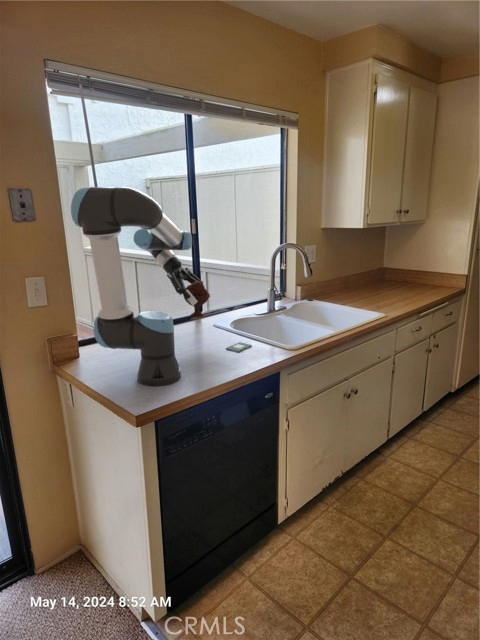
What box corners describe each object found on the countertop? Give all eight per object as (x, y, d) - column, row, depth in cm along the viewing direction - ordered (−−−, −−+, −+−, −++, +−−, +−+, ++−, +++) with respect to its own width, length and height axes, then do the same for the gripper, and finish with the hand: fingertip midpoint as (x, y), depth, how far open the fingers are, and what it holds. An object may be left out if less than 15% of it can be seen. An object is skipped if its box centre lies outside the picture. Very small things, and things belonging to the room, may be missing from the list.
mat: (238, 352, 170) (238, 350, 170) (226, 349, 174) (225, 347, 174) (251, 346, 177) (251, 344, 177) (239, 343, 181) (239, 342, 181)
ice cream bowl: (213, 313, 178) (212, 279, 174) (203, 319, 168) (203, 283, 164) (190, 312, 181) (189, 278, 177) (180, 318, 170) (178, 282, 166)
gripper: (179, 264, 185) (210, 301, 183) (147, 271, 165) (182, 312, 163) (188, 253, 182) (220, 290, 180) (158, 258, 161) (193, 300, 159)
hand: (202, 300), depth 171 cm, fingers closed on ice cream bowl, 11 cm apart
